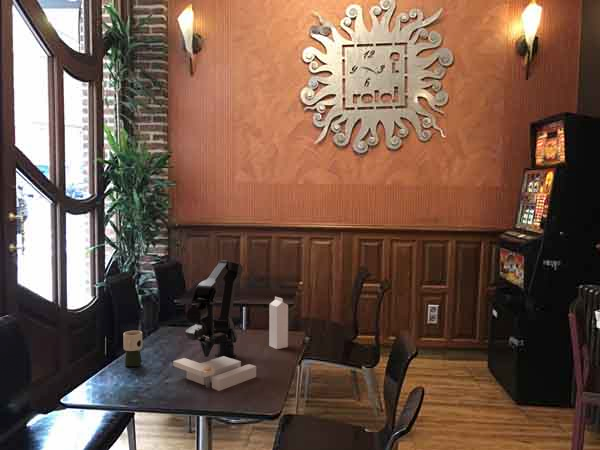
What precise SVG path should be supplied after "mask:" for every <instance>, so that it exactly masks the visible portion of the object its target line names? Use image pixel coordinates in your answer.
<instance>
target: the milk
mask: <svg viewBox="0 0 600 450" xmlns="http://www.w3.org/2000/svg"><path fill="white" fill-rule="evenodd" d="M268 307H269V314H268V315H269V325H268V328H269V331H268V332H269V334H268V335H269V336H268V337H269V340H268V341H269V342H268V345H269V347H271V348H273V349H275V350H279V349H284V348H288V347H289V346H288V345H289V305H288V304H287V303H286V302H284V299H283V298H282V297H278V296H274V300H273V301H271V302H270V303H269V306H268Z"/></svg>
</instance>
